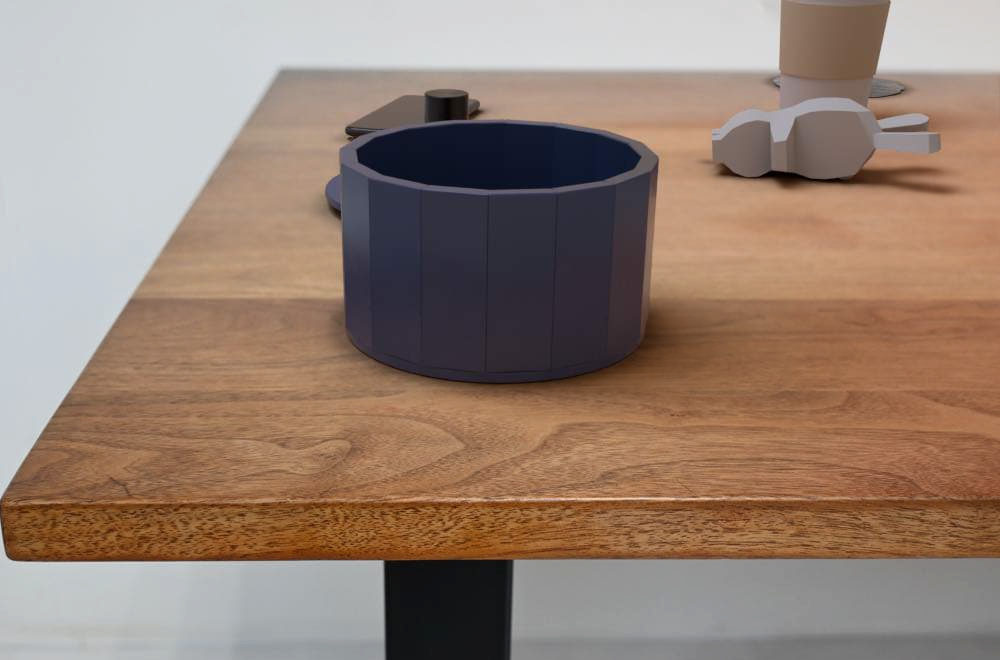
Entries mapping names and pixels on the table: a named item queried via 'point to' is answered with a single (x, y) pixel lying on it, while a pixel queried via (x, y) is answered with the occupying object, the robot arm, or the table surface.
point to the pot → (497, 248)
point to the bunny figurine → (817, 139)
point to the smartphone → (395, 115)
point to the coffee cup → (829, 48)
